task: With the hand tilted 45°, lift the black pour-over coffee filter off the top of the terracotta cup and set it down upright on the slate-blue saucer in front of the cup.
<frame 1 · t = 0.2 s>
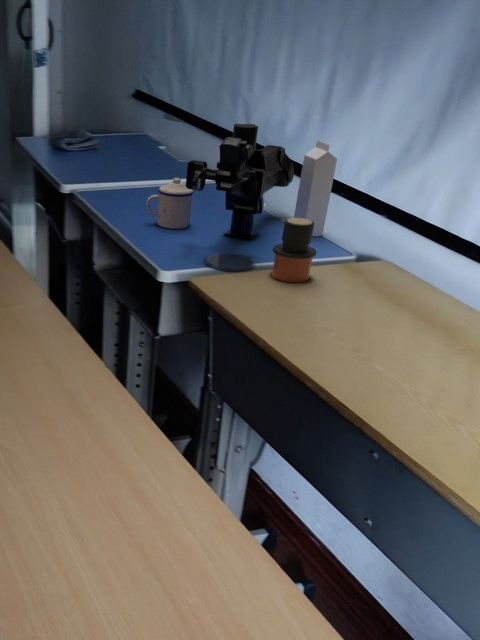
hand: (211, 186, 188), 17 cm above the table, tool horizontal, fingers open, 9 cm apart
saucer: (229, 264, 196), on the table
cup: (290, 276, 189), on the table, touching filter
filter: (294, 252, 186), point 5 cm above the table, touching cup
teacup with lid: (167, 225, 222), on the table
milk: (306, 234, 219), on the table
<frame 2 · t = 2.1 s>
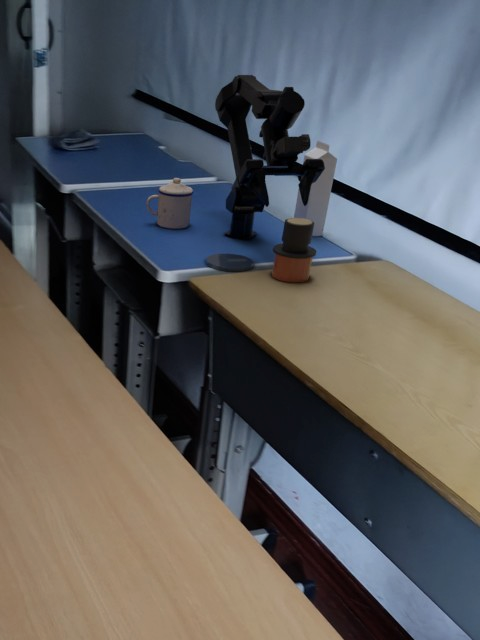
hand: (286, 205, 187), 14 cm above the table, tool tilted 45°, fingers open, 9 cm apart
nothing on the table moved.
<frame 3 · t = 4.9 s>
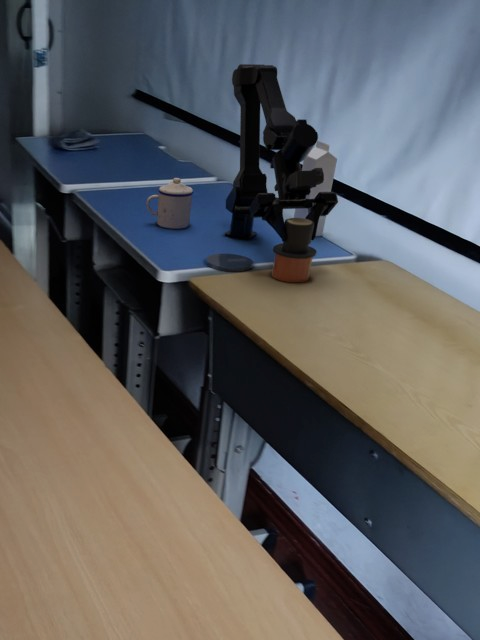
hand: (299, 239, 183), 9 cm above the table, tool tilted 45°, fingers closed on filter, 6 cm apart
filter: (294, 252, 186), point 5 cm above the table, touching cup, gripper
everything else where it was.
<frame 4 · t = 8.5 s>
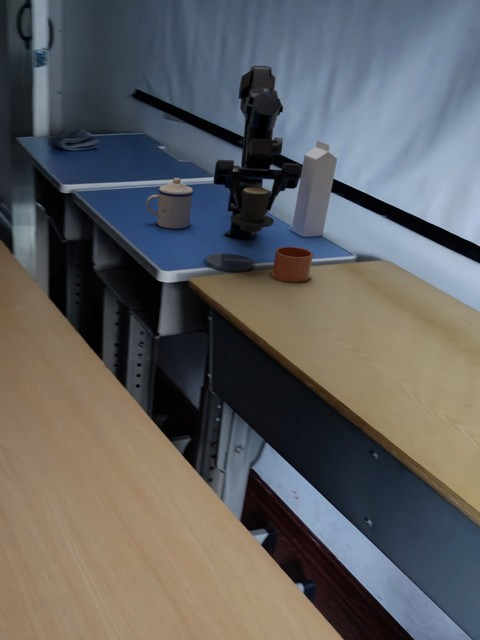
hand: (254, 208, 184), 14 cm above the table, tool tilted 45°, fingers closed on filter, 6 cm apart
cup: (290, 276, 189), on the table
filter: (251, 221, 187), point 11 cm above the table, touching gripper
everything else where it was.
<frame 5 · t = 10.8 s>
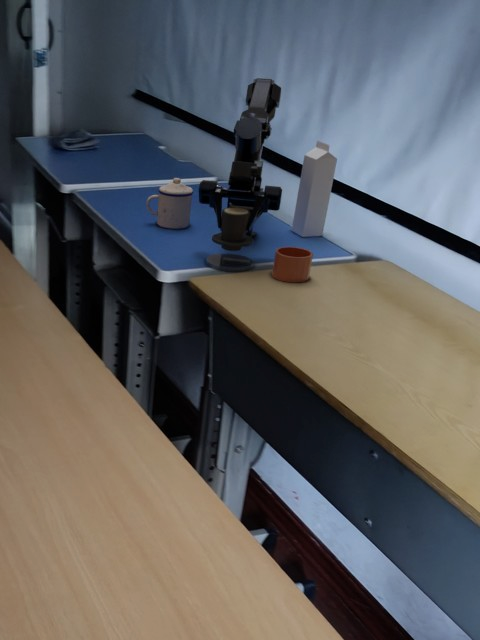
hand: (233, 228, 190), 8 cm above the table, tool tilted 45°, fingers closed on filter, 6 cm apart
filter: (232, 240, 193), point 5 cm above the table, touching gripper
everything else where it was.
when the fingers open (5 cm above the table, at t = 12.3 s): filter stays where it is, resting on saucer.
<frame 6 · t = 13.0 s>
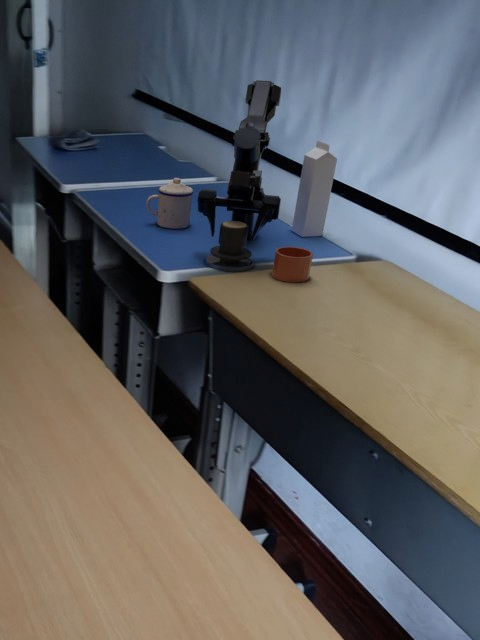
hand: (232, 237, 191), 6 cm above the table, tool tilted 45°, fingers open, 9 cm apart
filter: (230, 253, 194), point 2 cm above the table, touching saucer
everything else where it was.
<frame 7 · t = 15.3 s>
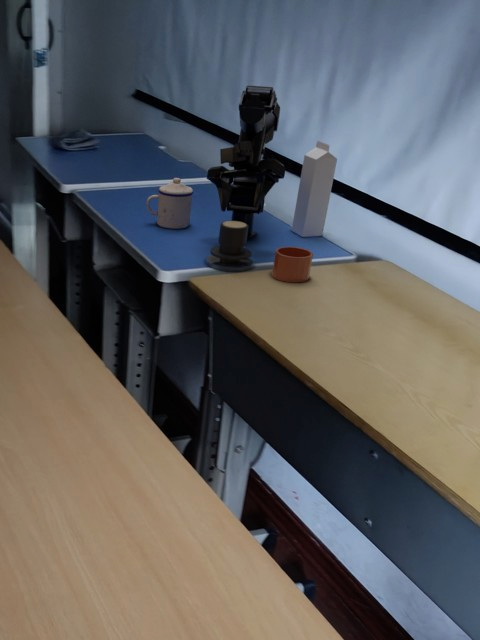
hand: (238, 209, 197), 10 cm above the table, tool tilted 30°, fingers open, 9 cm apart
nothing on the table moved.
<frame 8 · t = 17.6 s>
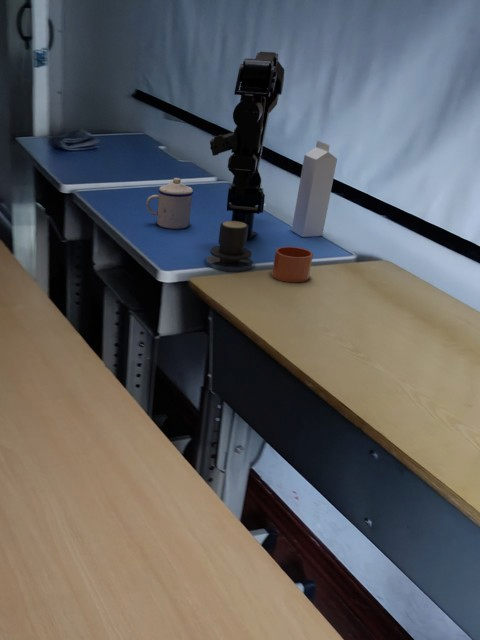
hand: (240, 194, 198), 13 cm above the table, tool pointing down, fingers open, 9 cm apart
nothing on the table moved.
at the end: filter 0.1 cm off-centre on the saucer, point 2.4 cm above the saucer's base; filter tilted 0°; cup moved 0.0 cm from its start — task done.
